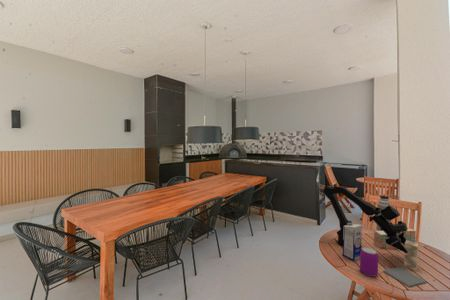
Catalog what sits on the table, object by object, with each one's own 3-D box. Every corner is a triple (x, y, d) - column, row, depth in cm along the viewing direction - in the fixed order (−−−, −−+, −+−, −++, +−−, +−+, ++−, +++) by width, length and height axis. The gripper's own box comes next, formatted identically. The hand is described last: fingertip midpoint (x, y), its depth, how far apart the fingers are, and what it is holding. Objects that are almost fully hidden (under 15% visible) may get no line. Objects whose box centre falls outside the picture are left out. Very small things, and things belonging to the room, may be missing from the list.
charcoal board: (408, 287, 97) (408, 285, 97) (383, 271, 108) (383, 270, 108) (426, 282, 100) (426, 281, 100) (400, 268, 112) (400, 266, 111)
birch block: (403, 266, 113) (404, 243, 112) (405, 262, 116) (406, 240, 116) (416, 270, 109) (417, 246, 109) (417, 266, 113) (418, 243, 112)
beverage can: (356, 270, 110) (357, 248, 109) (365, 266, 113) (366, 245, 112) (371, 279, 103) (372, 255, 102) (381, 275, 106) (381, 252, 105)
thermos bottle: (392, 235, 151) (393, 197, 149) (386, 237, 147) (388, 198, 146) (380, 230, 158) (381, 194, 156) (374, 233, 154) (375, 195, 153)
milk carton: (353, 261, 118) (354, 227, 117) (342, 255, 124) (343, 222, 123) (361, 258, 121) (362, 224, 120) (349, 252, 127) (350, 220, 126)
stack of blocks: (380, 248, 132) (380, 230, 131) (373, 244, 138) (374, 225, 137) (415, 249, 131) (415, 230, 130) (406, 244, 137) (407, 226, 136)
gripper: (393, 221, 110) (421, 249, 103) (399, 213, 123) (424, 237, 115) (375, 231, 116) (400, 258, 109) (382, 222, 129) (405, 246, 121)
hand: (408, 249), depth 113 cm, fingers open, 9 cm apart
